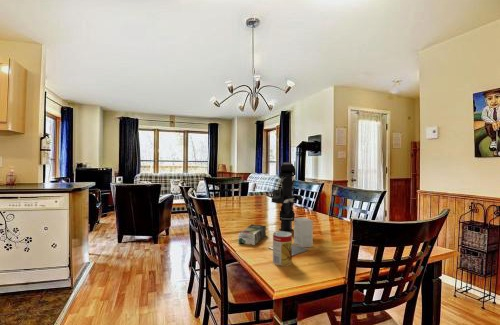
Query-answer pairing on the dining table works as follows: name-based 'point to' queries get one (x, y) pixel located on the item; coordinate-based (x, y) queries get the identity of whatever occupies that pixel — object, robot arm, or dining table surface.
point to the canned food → (282, 248)
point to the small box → (303, 232)
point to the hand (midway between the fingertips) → (287, 214)
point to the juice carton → (252, 234)
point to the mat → (295, 249)
